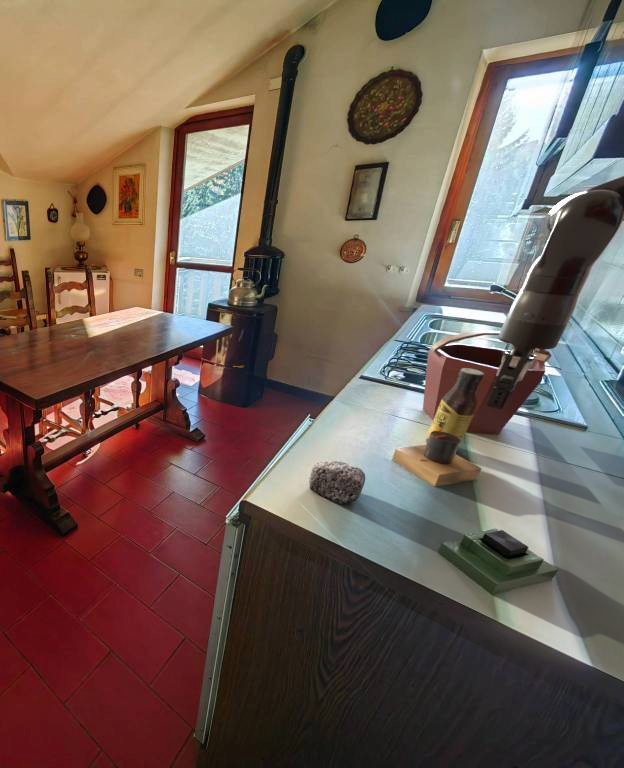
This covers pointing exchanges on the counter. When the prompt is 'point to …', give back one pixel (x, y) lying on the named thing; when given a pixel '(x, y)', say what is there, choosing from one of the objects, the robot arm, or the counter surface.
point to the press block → (495, 564)
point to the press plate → (504, 544)
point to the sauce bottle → (458, 405)
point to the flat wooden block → (435, 467)
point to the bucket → (456, 356)
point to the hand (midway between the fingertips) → (498, 401)
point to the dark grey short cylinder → (441, 447)
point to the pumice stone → (337, 481)
